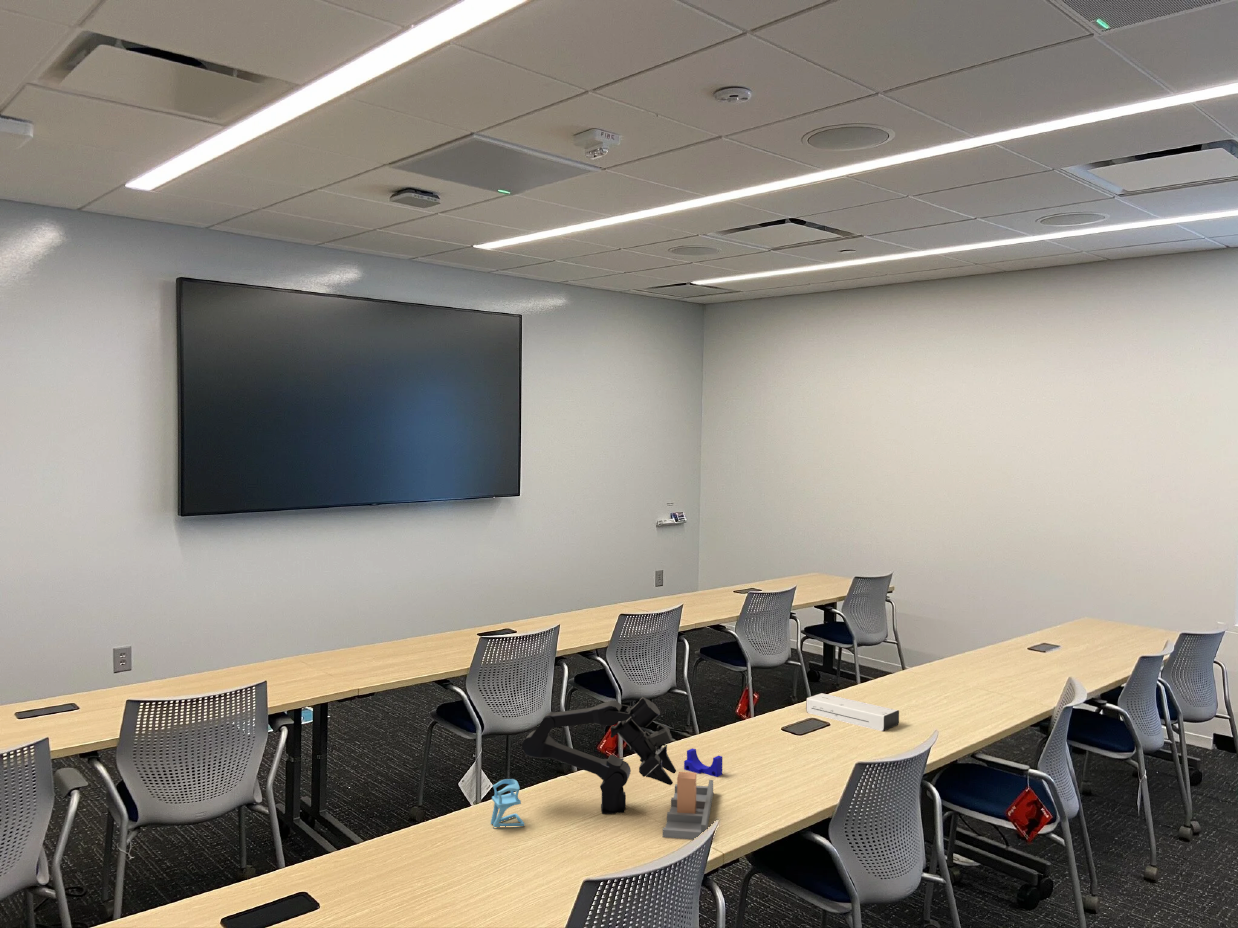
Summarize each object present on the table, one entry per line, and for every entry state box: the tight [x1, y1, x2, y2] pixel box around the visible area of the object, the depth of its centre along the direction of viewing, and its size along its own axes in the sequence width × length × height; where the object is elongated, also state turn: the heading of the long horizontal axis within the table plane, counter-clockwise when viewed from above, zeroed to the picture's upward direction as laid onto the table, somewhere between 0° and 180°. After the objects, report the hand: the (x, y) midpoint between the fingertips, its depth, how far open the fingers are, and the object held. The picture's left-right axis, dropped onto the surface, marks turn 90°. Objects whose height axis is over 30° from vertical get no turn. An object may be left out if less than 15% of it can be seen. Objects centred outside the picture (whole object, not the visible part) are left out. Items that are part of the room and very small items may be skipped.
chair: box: [490, 778, 525, 827], centre depth 247 cm, size 8×8×12 cm
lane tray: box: [662, 779, 714, 840], centre depth 253 cm, size 12×33×4 cm, turn 170°
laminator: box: [805, 692, 900, 732], centre depth 346 cm, size 34×12×6 cm, turn 45°
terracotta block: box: [676, 771, 697, 814], centre depth 253 cm, size 5×5×11 cm
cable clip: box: [683, 748, 723, 778], centre depth 287 cm, size 12×4×6 cm, turn 48°
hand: (673, 777), depth 254 cm, fingers open, 9 cm apart
